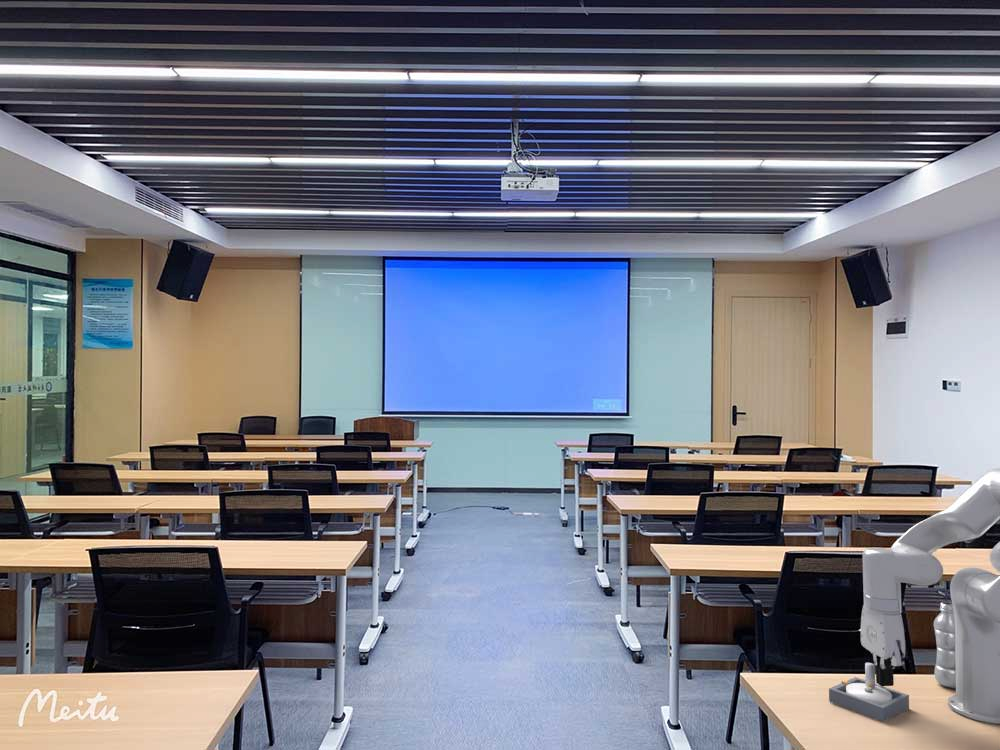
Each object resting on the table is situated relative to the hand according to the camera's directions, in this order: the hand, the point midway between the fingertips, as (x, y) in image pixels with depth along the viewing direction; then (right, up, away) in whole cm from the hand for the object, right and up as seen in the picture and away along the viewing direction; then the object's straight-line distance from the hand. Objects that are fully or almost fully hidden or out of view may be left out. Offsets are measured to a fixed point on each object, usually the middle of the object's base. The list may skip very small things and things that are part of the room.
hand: (884, 684), depth 154 cm
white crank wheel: (-4, -3, 0) cm, 5 cm away
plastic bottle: (+22, -6, +11) cm, 26 cm away
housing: (-4, -5, 0) cm, 6 cm away
